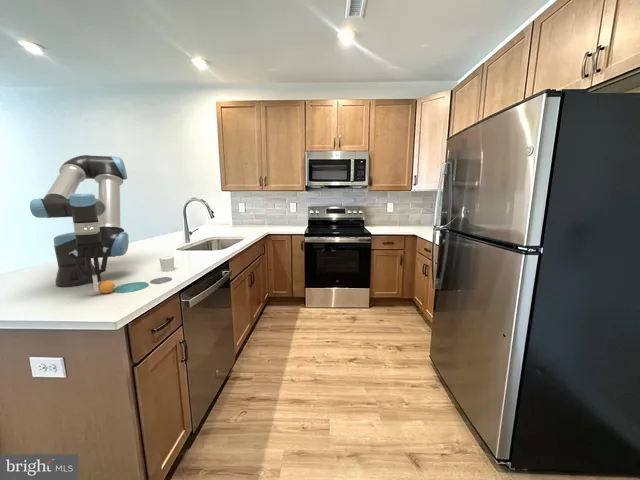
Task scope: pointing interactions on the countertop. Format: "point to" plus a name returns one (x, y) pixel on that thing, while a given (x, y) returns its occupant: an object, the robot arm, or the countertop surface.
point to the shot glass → (167, 264)
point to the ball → (106, 286)
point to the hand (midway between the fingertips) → (96, 290)
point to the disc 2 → (160, 280)
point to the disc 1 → (130, 287)
